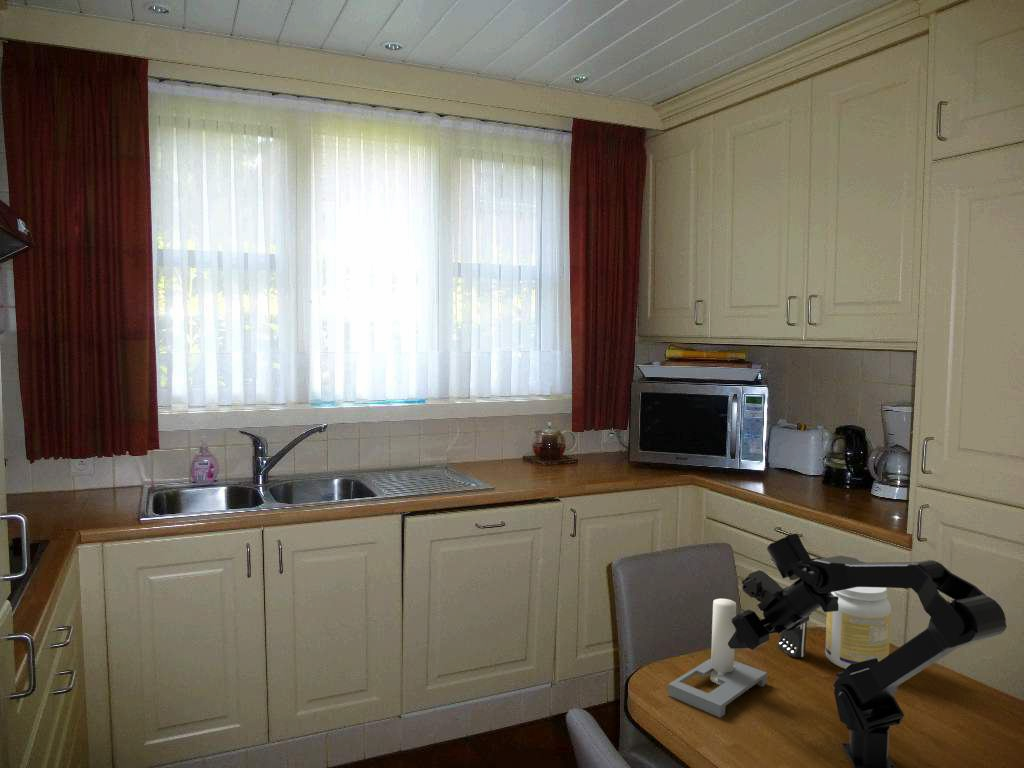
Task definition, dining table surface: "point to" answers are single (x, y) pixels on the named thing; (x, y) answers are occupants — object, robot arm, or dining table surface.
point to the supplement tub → (858, 626)
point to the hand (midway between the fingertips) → (743, 639)
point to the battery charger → (794, 641)
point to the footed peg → (722, 638)
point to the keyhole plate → (722, 695)
